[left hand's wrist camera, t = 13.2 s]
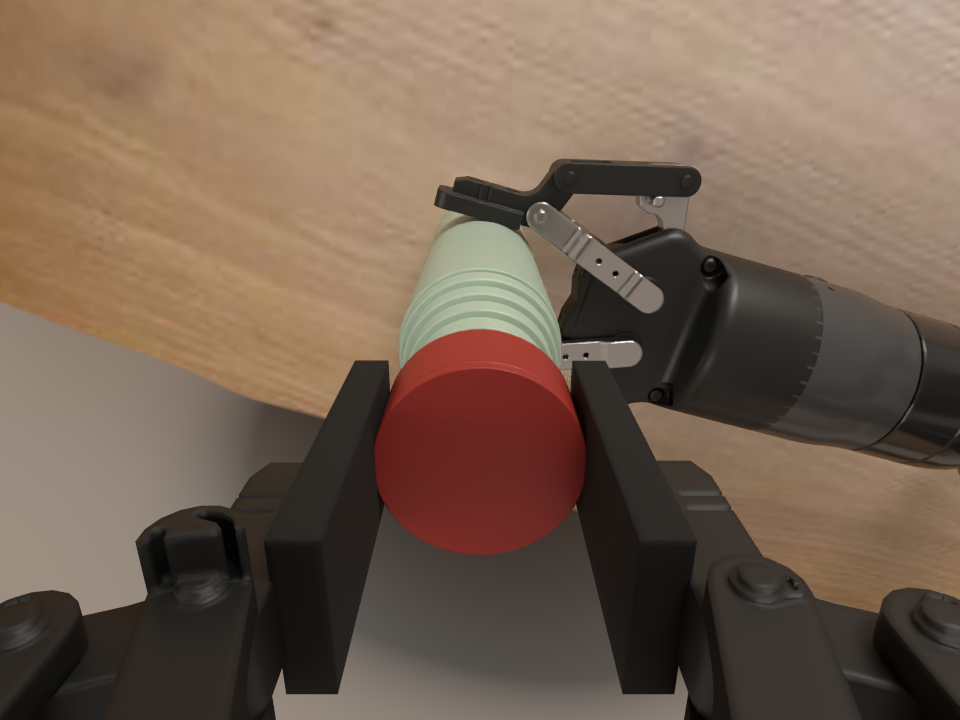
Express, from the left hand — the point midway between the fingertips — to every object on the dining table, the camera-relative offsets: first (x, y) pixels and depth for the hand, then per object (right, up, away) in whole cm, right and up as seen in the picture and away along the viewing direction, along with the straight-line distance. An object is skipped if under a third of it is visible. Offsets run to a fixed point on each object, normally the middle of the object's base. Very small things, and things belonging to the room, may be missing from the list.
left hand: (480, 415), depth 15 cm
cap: (0, -1, -2) cm, 2 cm away
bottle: (0, +8, +20) cm, 21 cm away
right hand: (-2, +6, +13) cm, 15 cm away
